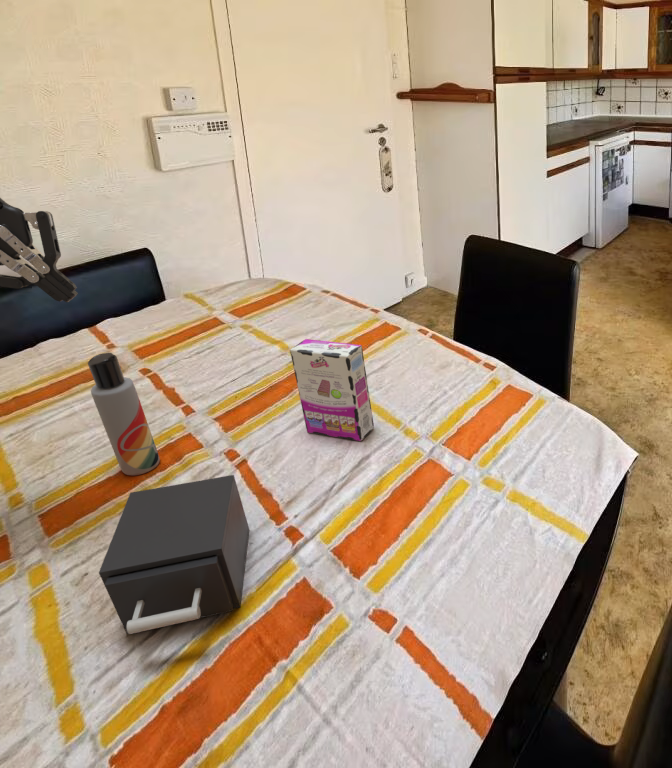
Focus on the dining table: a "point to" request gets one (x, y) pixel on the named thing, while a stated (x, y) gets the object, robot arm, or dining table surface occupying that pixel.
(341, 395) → the candy bar box
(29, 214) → the robot arm
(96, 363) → the lotion bottle
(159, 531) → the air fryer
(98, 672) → the dining table surface
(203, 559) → the drawer
